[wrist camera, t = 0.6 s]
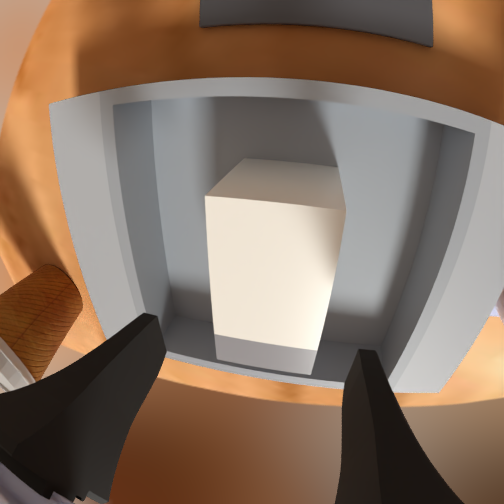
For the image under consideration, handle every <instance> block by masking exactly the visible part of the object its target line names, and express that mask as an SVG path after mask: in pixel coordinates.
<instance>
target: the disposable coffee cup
mask: <svg viewBox="0 0 504 504" xmlns="http://www.w3.org/2000/svg"><path fill="white" fill-rule="evenodd" d="M82 308H83V303H82V299H81V296H80V294H79V292H78V290H77V288H76V287H75V285H74V284H73V282H72V281H71V280H70V279H69V277H68V276H67V275H66V274H65V273H64V272H62V271H61V270H60V269H58V268H57V267H55V266H53V265H44V266H42V267H41V268H39V269H38V270H36V271H35V272H33V273H32V274H30V275H29V276H27V277H26V278H24V279H23V280H21V281H20V282H18V283H17V284H15V285H14V286H13V287H11V288H9V289H8V290H7V291H5V292H4V293H2V294H1V295H0V387H1V388H2V389H3V390H4V391H5V392H9V391H12V390H16V389H19V388H22V387H24V386H27V385H30V384H32V383H35V382H37V381H39V380H41V378H42V376H43V374H44V372H45V370H46V369H47V367H48V365H49V364H50V362H51V360H52V358H53V356H54V355H55V353H56V351H57V349H58V348H59V346H60V344H61V343H62V341H63V339H64V338H65V336H66V334H67V333H68V331H69V330H70V328H71V326H72V325H73V323H74V322H75V320H76V319H77V317H78V315H79V314H80V312H81V311H82Z"/></svg>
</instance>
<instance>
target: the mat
mask: <svg viewBox="0 0 504 504" xmlns="http://www.w3.org/2000/svg"><path fill="white" fill-rule="evenodd" d="M254 24H281V25H304V26H318V27H328V28H337V29H345V30H353V31H359V32H365V33H371V34H377V35H382V36H387V37H391V38H396V39H400V40H404V41H408V42H412V43H416V44H420V45H424V46H427V47H430V48H431V47H433V11H432V0H200V23H199V27H201V28H206V27H216V26H230V25H254Z"/></svg>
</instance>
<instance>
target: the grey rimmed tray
mask: <svg viewBox="0 0 504 504" xmlns="http://www.w3.org/2000/svg"><path fill="white" fill-rule="evenodd" d="M49 111H50V122H51V132H52V140H53V148H54V155H55V162H56V168H57V174H58V179H59V185H60V190H61V195H62V200H63V204H64V209H65V213H66V217H67V221H68V225H69V229H70V233H71V237H72V241H73V244H74V248H75V252H76V255H77V258H78V262H79V265H80V268H81V271H82V274H83V278H84V281H85V284H86V287H87V289H88V292H89V295H90V298H91V301H92V304H93V306H94V309H95V312H96V314H97V317H98V319H99V322H100V324H101V327H102V329H103V332H104V334H105V337H106V339H107V340H108V339H109V338H110V337H112V336H113V335H114V334H116V333H117V332H118V331H120V330H121V329H122V328H124V327H125V326H126V325H128V324H129V323H130V322H131V321H133V320H134V319H135V318H137V317H138V316H139V315H141V314H142V313H148V314H152V315H156V316H158V320H159V324H160V328H161V332H162V335H163V339H164V343H165V347H166V351H167V353H166V355H165V357H166V358H170V359H174V360H178V361H182V362H185V363H190V364H194V365H198V366H202V367H206V368H211V369H215V370H220V371H225V372H230V373H234V374H240V375H245V376H250V377H256V378H261V379H267V380H273V381H280V382H287V383H293V384H301V385H309V386H317V387H326V388H336V389H344V383H345V380H346V378H347V376H348V373H349V371H350V368H351V366H352V364H353V361H354V359H355V356H356V354H357V351H358V349H367V350H375V351H376V352H377V354H378V356H379V359H380V362H381V364H382V367H383V369H384V372H385V374H386V377H387V379H388V381H389V384H390V386H391V388H392V391H393V392H401V393H439V392H440V391H441V389H442V388H443V387H444V385H445V384H446V383H447V381H448V380H449V379H450V377H451V376H452V374H453V373H454V372H455V370H456V369H457V367H458V366H459V364H460V363H461V361H462V360H463V358H464V357H465V355H466V354H467V352H468V351H469V349H470V348H471V346H472V345H473V343H474V341H475V340H476V338H477V336H478V335H479V333H480V331H481V330H482V328H483V326H484V325H485V323H486V321H487V319H488V317H489V316H490V314H491V312H492V310H493V308H494V306H495V304H496V302H497V300H498V299H499V297H500V295H501V292H502V290H503V288H504V126H503V125H501V124H498V123H496V122H493V121H491V120H488V119H485V118H483V117H480V116H477V115H474V114H471V113H468V112H465V111H462V110H459V109H456V108H453V107H450V106H446V105H443V104H439V103H436V102H432V101H428V100H424V99H420V98H416V97H412V96H408V95H404V94H399V93H394V92H390V91H384V90H379V89H374V88H368V87H362V86H355V85H349V84H341V83H333V82H325V81H315V80H303V79H288V78H265V77H224V78H201V79H186V80H175V81H165V82H156V83H148V84H141V85H134V86H127V87H121V88H116V89H110V90H105V91H100V92H95V93H91V94H86V95H82V96H77V97H73V98H69V99H65V100H62V101H58V102H54V103H51V104H49ZM244 158H250V159H264V160H276V161H287V162H298V163H307V164H316V165H324V166H332V167H338V169H339V173H340V178H341V183H342V188H343V194H344V199H345V205H346V210H347V211H346V218H345V224H344V230H343V235H342V241H341V246H340V252H339V257H338V262H337V267H336V272H335V277H334V282H333V287H332V291H331V296H330V300H329V305H328V309H327V313H326V318H325V322H324V326H323V330H322V334H321V338H320V342H319V346H318V350H317V354H316V357H315V361H314V365H313V369H312V372H311V375H307V374H299V373H292V372H285V371H279V370H272V369H266V368H260V367H254V366H249V365H243V364H238V363H233V362H228V361H223V360H218V359H217V356H216V346H215V336H214V325H213V314H212V302H211V289H210V276H209V262H208V247H207V230H206V211H205V195H206V194H207V193H208V192H209V191H210V190H211V189H212V188H213V187H214V186H215V185H216V184H217V183H218V182H219V181H221V180H222V179H223V178H224V177H225V176H226V175H227V174H228V173H229V172H230V171H231V170H232V169H233V168H234V167H235V166H236V165H237V164H238V163H240V162H241V161H242V160H243V159H244Z"/></svg>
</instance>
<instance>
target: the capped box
mask: <svg viewBox="0 0 504 504" xmlns="http://www.w3.org/2000/svg"><path fill="white" fill-rule="evenodd" d="M205 211H206V230H207V247H208V262H209V276H210V289H211V302H212V314H213V325H214V336H215V346H216V356H217V359H218V360H223V361H228V362H233V363H238V364H243V365H249V366H254V367H260V368H266V369H272V370H279V371H285V372H292V373H299V374H307V375H311V372H312V369H313V365H314V361H315V357H316V354H317V350H318V346H319V342H320V338H321V334H322V330H323V326H324V322H325V318H326V313H327V309H328V305H329V300H330V296H331V291H332V287H333V282H334V277H335V272H336V267H337V262H338V257H339V252H340V246H341V241H342V235H343V230H344V224H345V218H346V211H347V210H346V205H345V199H344V194H343V188H342V183H341V178H340V173H339V169H338V167H332V166H324V165H316V164H307V163H298V162H287V161H276V160H264V159H250V158H244V159H243V160H242V161H241V162H240V163H238V164H237V165H236V166H235V167H234V168H233V169H232V170H231V171H230V172H229V173H228V174H227V175H226V176H225V177H224V178H223V179H222V180H221V181H219V182H218V183H217V184H216V185H215V186H214V187H213V188H212V189H211V190H210V191H209V192H208V193H207V194H206V195H205Z"/></svg>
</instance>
